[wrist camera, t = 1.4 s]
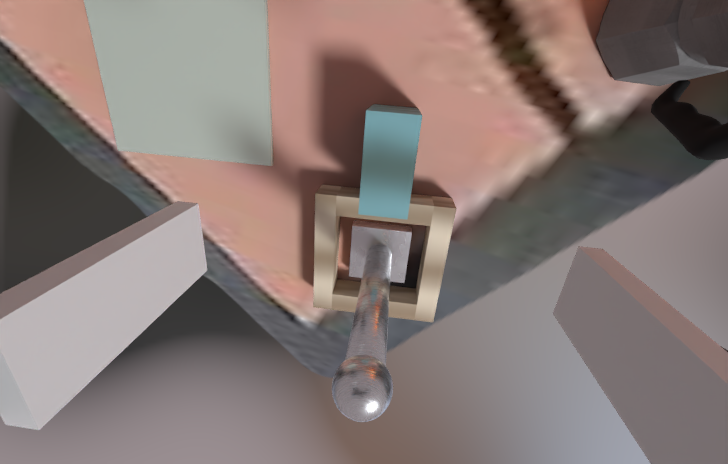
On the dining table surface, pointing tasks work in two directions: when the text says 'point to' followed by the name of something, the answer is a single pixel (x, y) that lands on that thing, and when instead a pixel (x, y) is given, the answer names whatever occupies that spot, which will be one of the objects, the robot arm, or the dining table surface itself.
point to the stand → (371, 319)
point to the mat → (186, 76)
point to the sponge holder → (384, 215)
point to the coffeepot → (670, 60)
